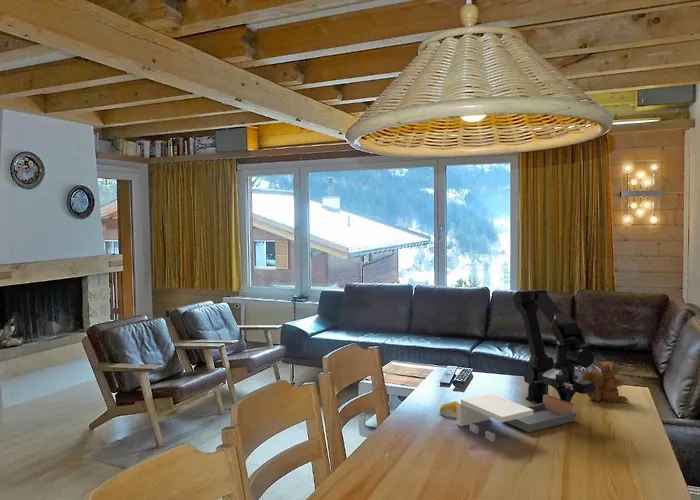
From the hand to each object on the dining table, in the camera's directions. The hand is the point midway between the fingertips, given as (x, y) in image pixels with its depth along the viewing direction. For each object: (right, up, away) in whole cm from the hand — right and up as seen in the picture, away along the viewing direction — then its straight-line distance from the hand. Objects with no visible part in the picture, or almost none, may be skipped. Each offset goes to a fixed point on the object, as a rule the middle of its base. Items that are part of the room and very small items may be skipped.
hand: (565, 407), depth 187 cm
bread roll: (-36, -3, +2) cm, 36 cm away
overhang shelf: (-26, -4, -14) cm, 30 cm away
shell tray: (-11, -3, -6) cm, 12 cm away
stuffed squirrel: (+19, -2, +16) cm, 25 cm away
